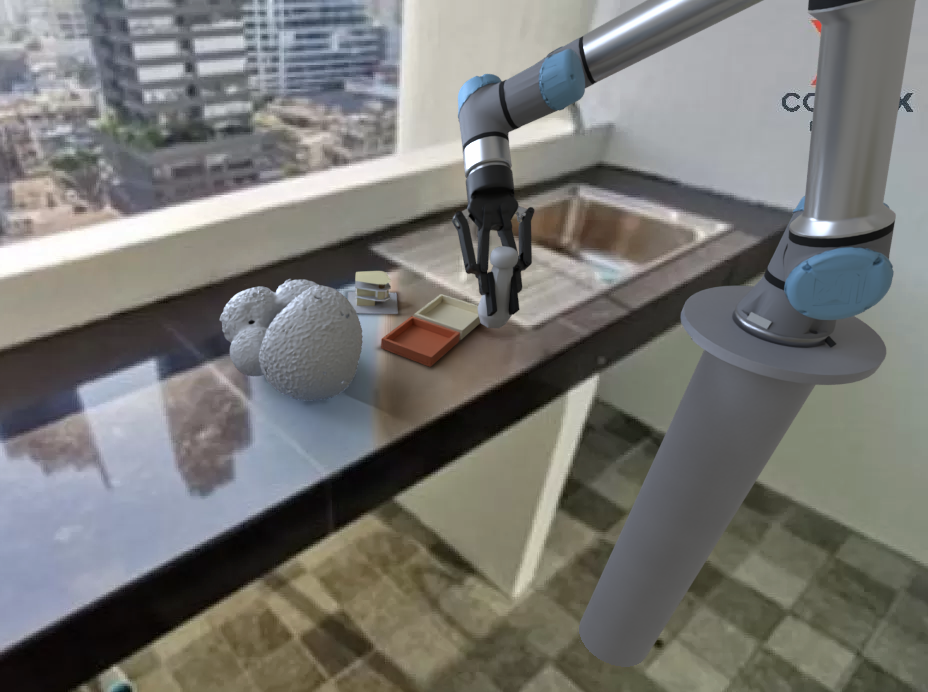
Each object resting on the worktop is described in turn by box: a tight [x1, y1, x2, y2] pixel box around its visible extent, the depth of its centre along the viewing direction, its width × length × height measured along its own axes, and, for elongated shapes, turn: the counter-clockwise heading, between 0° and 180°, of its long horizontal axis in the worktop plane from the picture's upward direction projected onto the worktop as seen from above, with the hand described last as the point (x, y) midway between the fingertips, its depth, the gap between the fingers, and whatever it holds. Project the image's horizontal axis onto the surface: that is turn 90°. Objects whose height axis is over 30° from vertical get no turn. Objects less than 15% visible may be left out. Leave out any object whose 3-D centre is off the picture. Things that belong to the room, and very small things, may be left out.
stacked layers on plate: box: [347, 270, 399, 315], centre depth 120 cm, size 10×9×6 cm
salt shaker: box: [477, 245, 519, 329], centre depth 99 cm, size 6×6×13 cm
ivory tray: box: [413, 293, 481, 341], centre depth 115 cm, size 10×10×2 cm
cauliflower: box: [219, 278, 363, 402], centre depth 96 cm, size 20×25×22 cm
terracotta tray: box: [380, 315, 460, 368], centre depth 108 cm, size 10×10×2 cm
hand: (503, 312), depth 98 cm, fingers closed on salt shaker, 3 cm apart
